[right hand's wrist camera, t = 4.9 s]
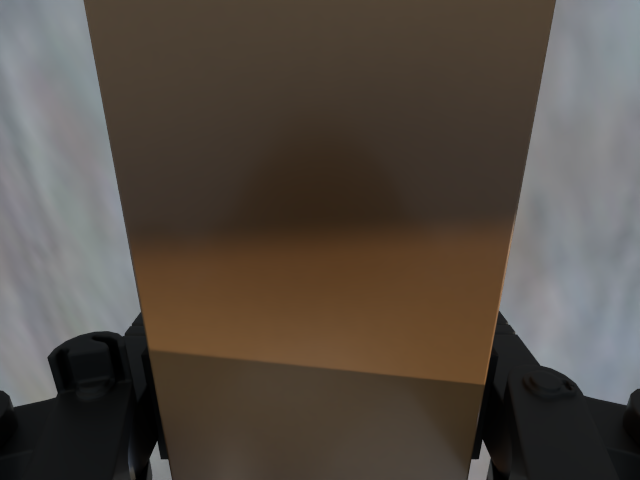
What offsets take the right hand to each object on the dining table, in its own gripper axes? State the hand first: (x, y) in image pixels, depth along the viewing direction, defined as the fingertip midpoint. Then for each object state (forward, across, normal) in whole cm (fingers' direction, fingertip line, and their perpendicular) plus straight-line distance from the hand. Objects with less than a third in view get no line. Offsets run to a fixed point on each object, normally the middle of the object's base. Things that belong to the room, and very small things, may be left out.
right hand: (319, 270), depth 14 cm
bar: (0, 0, -9) cm, 9 cm away
